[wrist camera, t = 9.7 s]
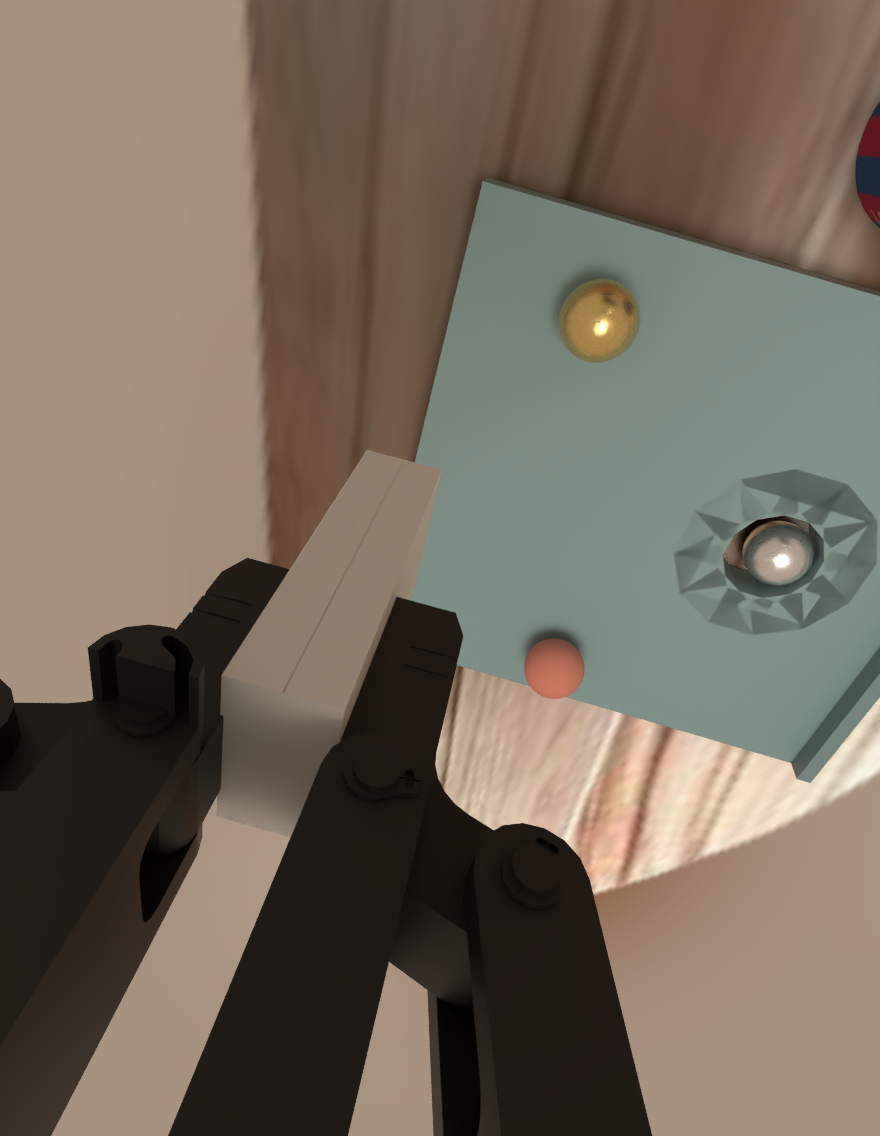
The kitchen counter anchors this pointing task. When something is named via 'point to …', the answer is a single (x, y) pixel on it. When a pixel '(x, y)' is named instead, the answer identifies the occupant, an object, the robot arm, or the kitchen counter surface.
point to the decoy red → (554, 668)
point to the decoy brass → (599, 320)
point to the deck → (659, 477)
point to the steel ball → (778, 552)
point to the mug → (870, 168)
